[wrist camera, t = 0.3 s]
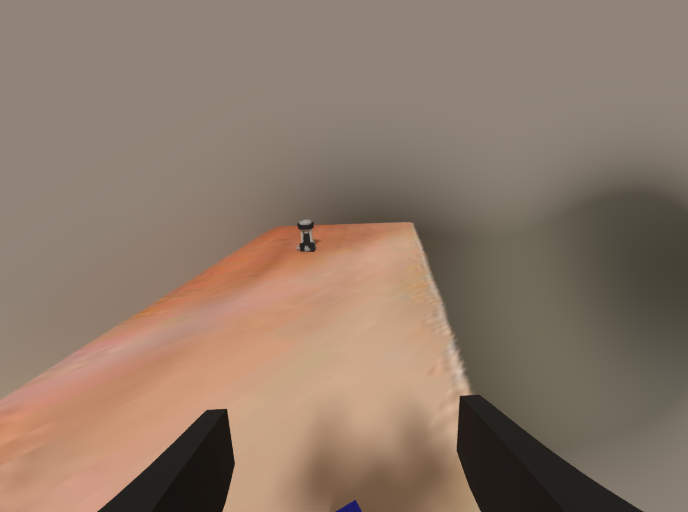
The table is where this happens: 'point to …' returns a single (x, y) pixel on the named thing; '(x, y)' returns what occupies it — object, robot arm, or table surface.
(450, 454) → the table surface
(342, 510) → the blue curved piece
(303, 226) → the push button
